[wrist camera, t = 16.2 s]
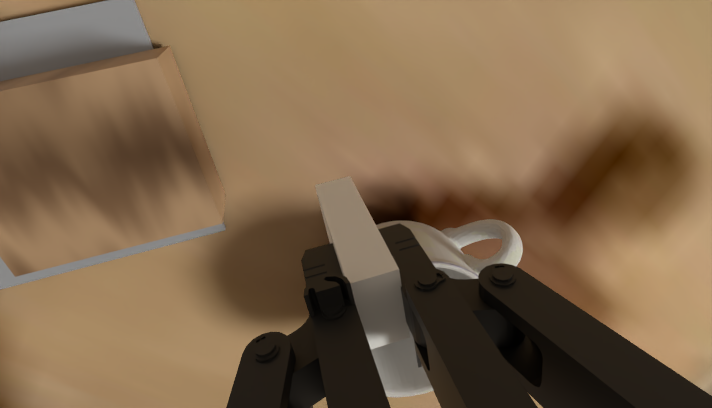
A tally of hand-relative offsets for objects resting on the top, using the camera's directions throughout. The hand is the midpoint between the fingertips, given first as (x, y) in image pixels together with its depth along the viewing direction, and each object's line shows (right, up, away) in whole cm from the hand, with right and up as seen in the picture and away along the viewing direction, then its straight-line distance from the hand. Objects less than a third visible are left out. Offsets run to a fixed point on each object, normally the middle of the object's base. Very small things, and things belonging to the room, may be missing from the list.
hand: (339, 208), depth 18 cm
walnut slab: (-8, +4, +5) cm, 10 cm away
